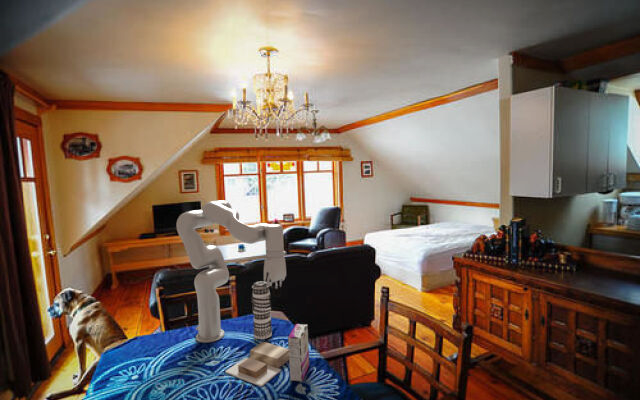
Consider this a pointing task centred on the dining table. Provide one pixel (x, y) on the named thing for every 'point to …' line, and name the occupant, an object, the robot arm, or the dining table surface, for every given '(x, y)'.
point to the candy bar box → (298, 352)
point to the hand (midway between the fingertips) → (276, 296)
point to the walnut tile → (252, 368)
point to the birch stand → (270, 354)
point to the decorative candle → (261, 310)
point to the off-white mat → (259, 381)
